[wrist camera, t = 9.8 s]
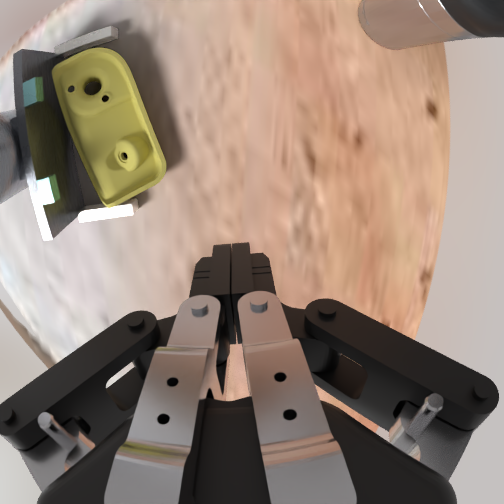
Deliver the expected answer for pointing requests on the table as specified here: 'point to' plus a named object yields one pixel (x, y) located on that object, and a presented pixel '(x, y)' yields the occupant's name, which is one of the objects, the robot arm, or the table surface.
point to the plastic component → (109, 125)
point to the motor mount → (47, 142)
